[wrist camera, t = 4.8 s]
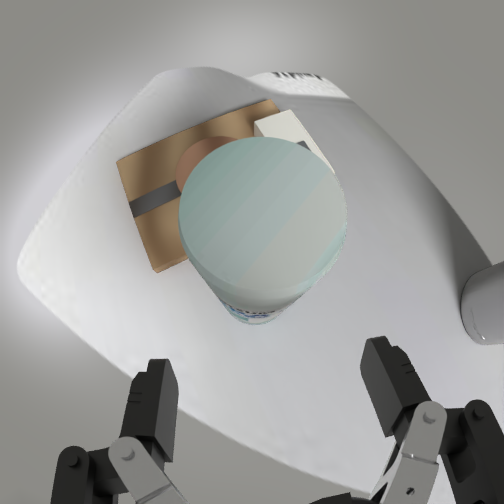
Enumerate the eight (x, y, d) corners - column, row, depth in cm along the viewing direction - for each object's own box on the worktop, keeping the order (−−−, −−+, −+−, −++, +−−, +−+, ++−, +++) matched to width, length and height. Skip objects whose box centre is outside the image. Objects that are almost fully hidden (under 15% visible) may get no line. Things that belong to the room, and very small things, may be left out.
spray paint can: (207, 297, 30) (138, 219, 11) (249, 247, 32) (250, 109, 12) (260, 340, 29) (281, 336, 10) (301, 287, 31) (381, 196, 11)
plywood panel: (270, 106, 37) (270, 98, 35) (329, 194, 33) (332, 187, 32) (120, 168, 34) (115, 161, 33) (157, 273, 31) (152, 269, 29)
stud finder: (254, 135, 34) (254, 120, 31) (288, 123, 34) (290, 108, 32) (293, 199, 32) (297, 187, 29) (329, 184, 32) (335, 171, 29)
